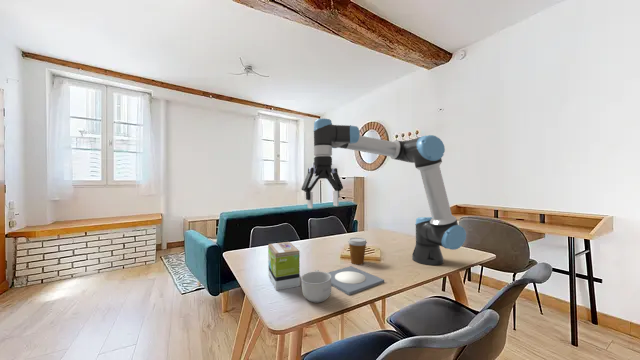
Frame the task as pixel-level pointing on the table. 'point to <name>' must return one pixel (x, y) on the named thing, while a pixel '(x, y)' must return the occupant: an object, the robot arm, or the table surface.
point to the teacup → (316, 286)
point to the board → (353, 280)
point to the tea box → (284, 265)
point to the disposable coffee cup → (357, 250)
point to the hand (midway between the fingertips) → (323, 206)
